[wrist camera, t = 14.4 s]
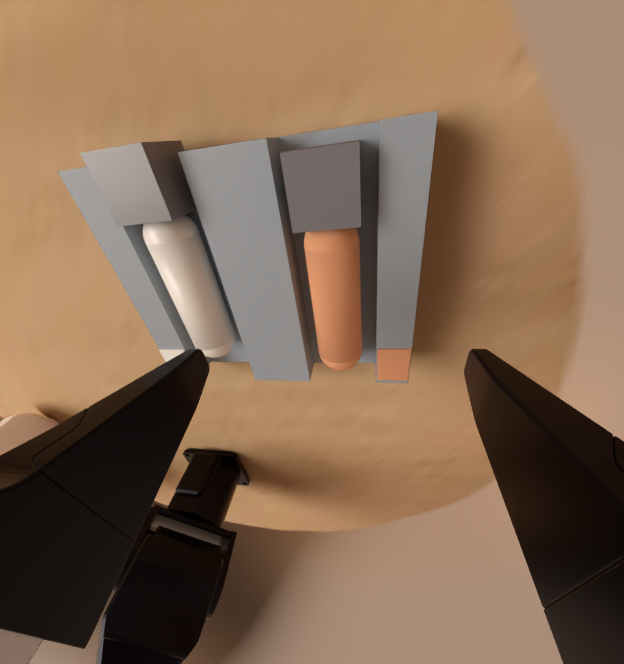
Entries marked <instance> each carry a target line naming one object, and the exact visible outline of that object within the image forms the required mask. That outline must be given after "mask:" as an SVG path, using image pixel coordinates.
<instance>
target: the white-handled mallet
mask: <svg viewBox="0 0 624 664" xmlns="http://www.w3.org/2000/svg"><path fill="white" fill-rule="evenodd" d="M183 151H184V149H183V146H182V142H181V141H162V142H140V143H135V144H129V145H123V146H118V147H112V148H106V149H101V150H95V151H89V152H84V153H80V154H81V156H82V158H83V160H84V162H85V164H86V166H87V168H88V170H89V172H90V174H91V176H92V178H93V180H94V182H95V183H96V185H97V187H98V189H99V191H100V193H101V195H102V197H103V199H104V201H105V203H106V205H107V207H108V209H109V211H110V213H111V214H112V216H113V218H114V220H115V222H116V224H117V226H118V227H119V226H128V225H137V224H144V225H143V238H144V241H145V243H146V245H147V248H148V250H149V252H150V254H151V256H152V258H153V260H154V262H155V264H156V266H157V269H158V271H159V273H160V275H161V277H162V279H163V281H164V283H165V285H166V287H167V290H168V292H169V294H170V296H171V298H172V300H173V302H174V304H175V306H176V308H177V311H178V313H179V315H180V317H181V319H182V321H183V323H184V325H185V327H186V329H187V332H188V334H189V336H190V338H191V340H192V342H193V344H194V346H195V348H196V349H201V350H202V351H203V353H204V355H205V356H207V357H211V358H216V357H221V356H224V355H225V354H227V353H228V352H229V351H230V350H231V349H232V348H233V346H234V343H235V331H234V328H233V325H232V323H231V320H230V317H229V314H228V311H227V308H226V306H225V303H224V300H223V297H222V294H221V292H220V289H219V286H218V283H217V280H216V277H215V275H214V272H213V269H212V266H211V263H210V261H209V258H208V255H207V252H206V249H205V246H204V244H203V241H202V238H201V235H200V232H199V230H198V228H197V225H196V224H195V223H194V221H193V220H192V219H191V218H190V217H189V216H188V215H186V214H188V213H190V212H192V211H194V210H197V208H196V205H195V202H194V199H193V196H192V193H191V190H190V187H189V185H188V182H187V179H186V176H185V173H184V170H183V167H182V164H181V161H180V158H179V155H178V152H183Z"/></svg>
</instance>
